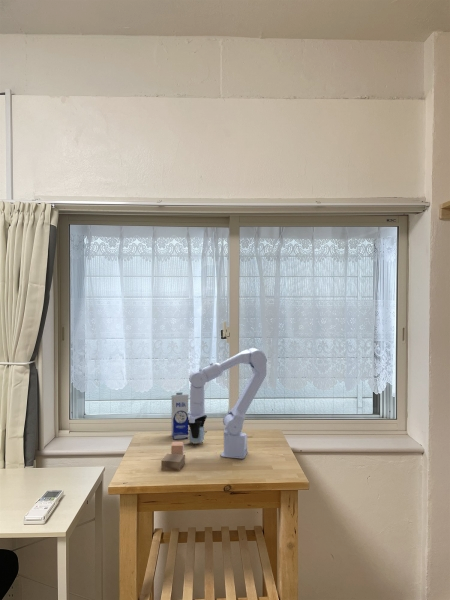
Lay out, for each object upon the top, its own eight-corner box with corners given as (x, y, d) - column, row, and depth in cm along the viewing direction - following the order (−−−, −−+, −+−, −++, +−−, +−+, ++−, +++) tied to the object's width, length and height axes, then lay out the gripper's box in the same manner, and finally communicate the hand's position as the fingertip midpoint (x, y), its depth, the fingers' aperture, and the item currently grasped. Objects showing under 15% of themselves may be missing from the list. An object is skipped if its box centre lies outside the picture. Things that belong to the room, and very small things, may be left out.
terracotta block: (183, 453, 174) (183, 441, 174) (182, 458, 169) (182, 445, 169) (172, 454, 174) (172, 441, 174) (171, 458, 169) (171, 445, 169)
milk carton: (172, 439, 191) (172, 395, 190) (171, 434, 197) (171, 391, 197) (188, 438, 192) (188, 394, 192) (186, 433, 199) (186, 390, 199)
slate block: (203, 439, 172) (203, 426, 172) (200, 442, 168) (200, 430, 168) (193, 438, 173) (193, 425, 173) (189, 441, 169) (189, 429, 169)
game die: (200, 453, 185) (210, 437, 181) (182, 447, 183) (191, 432, 178) (200, 436, 193) (209, 422, 188) (182, 431, 190) (191, 416, 186)
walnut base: (184, 463, 164) (184, 454, 164) (179, 471, 157) (179, 461, 157) (167, 462, 166) (167, 453, 166) (161, 470, 159) (161, 460, 159)
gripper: (193, 397, 178) (193, 429, 179) (181, 405, 164) (181, 441, 164) (209, 398, 177) (209, 430, 177) (199, 407, 163) (199, 442, 163)
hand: (197, 435), depth 171 cm, fingers closed on slate block, 4 cm apart
